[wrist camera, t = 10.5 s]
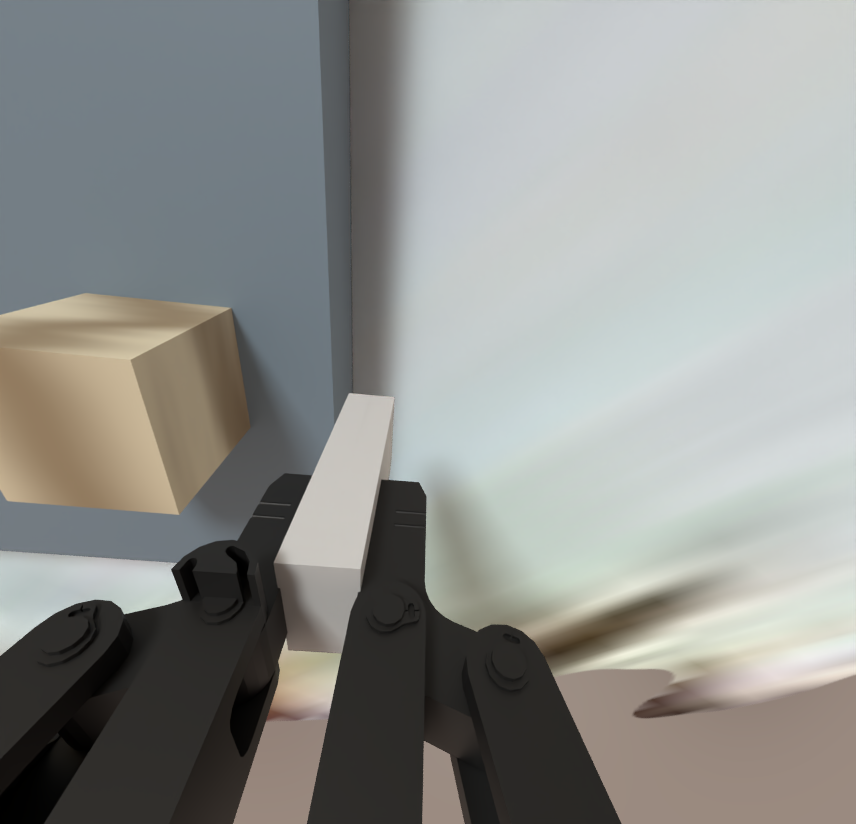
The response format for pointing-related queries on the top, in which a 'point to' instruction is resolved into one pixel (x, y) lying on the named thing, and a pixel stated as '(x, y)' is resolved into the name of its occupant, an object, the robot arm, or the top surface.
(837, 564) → the top surface
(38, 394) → the maple block
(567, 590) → the top surface
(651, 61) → the top surface
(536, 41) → the top surface
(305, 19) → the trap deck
